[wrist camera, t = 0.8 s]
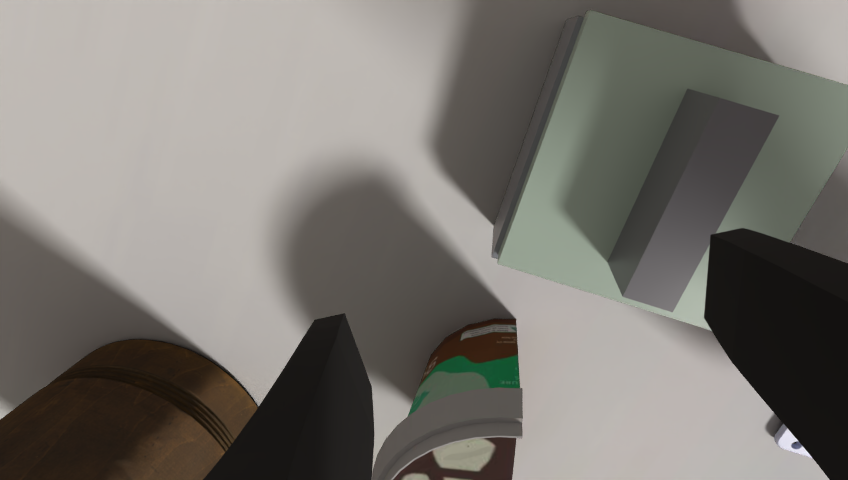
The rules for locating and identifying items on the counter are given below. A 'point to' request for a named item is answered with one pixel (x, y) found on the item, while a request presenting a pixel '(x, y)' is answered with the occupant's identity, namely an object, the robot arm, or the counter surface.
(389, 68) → the counter surface
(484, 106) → the counter surface
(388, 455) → the food container
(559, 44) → the tub
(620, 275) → the lid
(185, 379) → the wooden container
